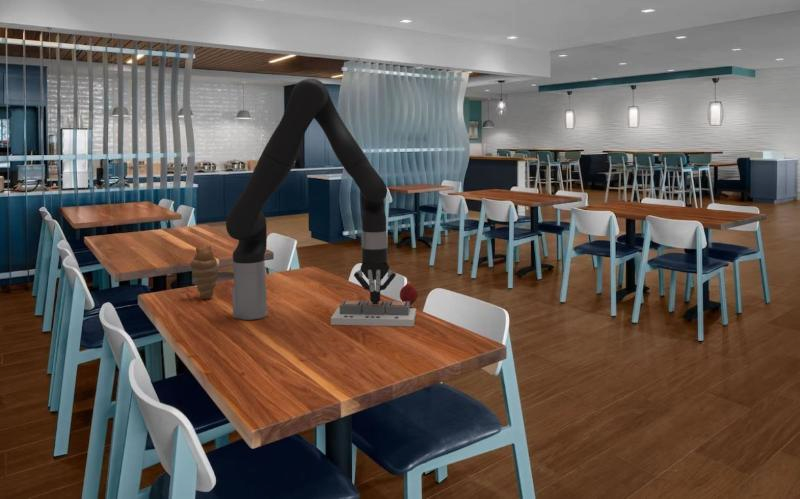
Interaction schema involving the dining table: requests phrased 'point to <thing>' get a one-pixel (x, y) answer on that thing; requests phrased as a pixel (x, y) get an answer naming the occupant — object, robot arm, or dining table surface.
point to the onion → (408, 293)
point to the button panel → (374, 314)
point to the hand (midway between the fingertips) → (375, 303)
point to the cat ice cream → (205, 271)
